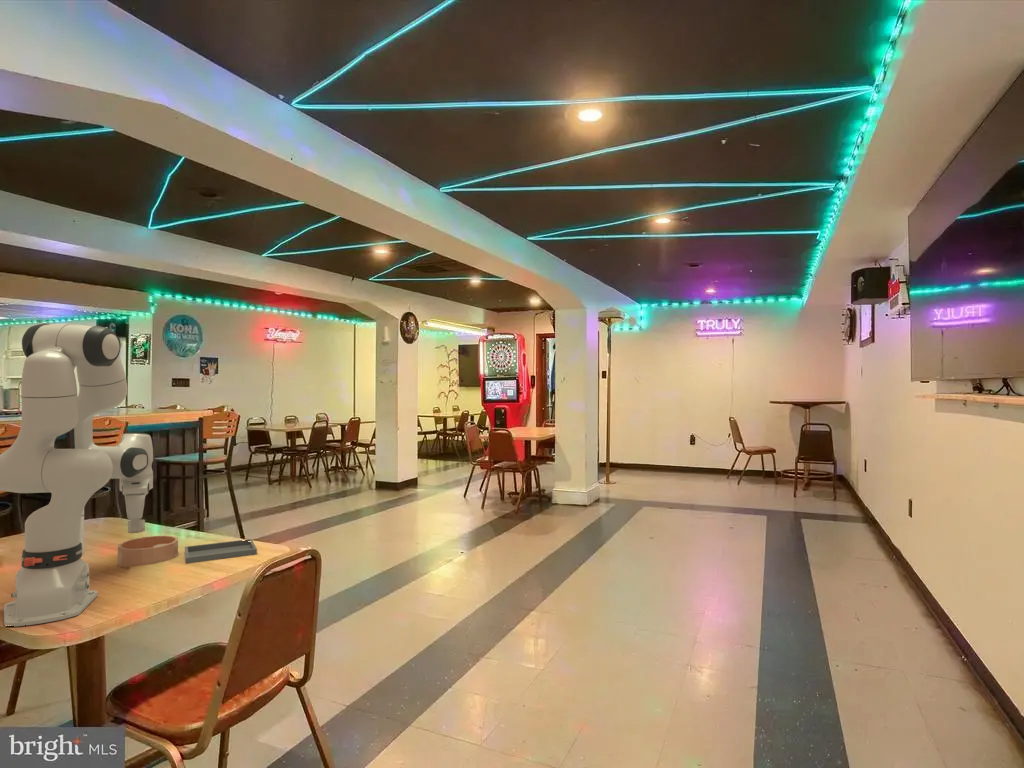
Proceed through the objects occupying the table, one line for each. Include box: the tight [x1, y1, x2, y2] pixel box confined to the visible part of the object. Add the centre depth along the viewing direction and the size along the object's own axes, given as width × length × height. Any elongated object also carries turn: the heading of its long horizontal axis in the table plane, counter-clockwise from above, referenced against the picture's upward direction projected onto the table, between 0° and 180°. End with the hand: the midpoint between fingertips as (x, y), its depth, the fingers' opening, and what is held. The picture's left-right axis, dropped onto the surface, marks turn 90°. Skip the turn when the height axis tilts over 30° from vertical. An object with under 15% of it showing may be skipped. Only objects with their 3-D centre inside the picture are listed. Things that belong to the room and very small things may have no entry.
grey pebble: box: [127, 518, 146, 534], centre depth 182 cm, size 4×4×3 cm
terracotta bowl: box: [117, 535, 179, 568], centre depth 183 cm, size 16×16×6 cm
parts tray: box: [184, 538, 258, 565], centre depth 188 cm, size 14×20×2 cm
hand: (136, 527), depth 182 cm, fingers closed on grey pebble, 4 cm apart
